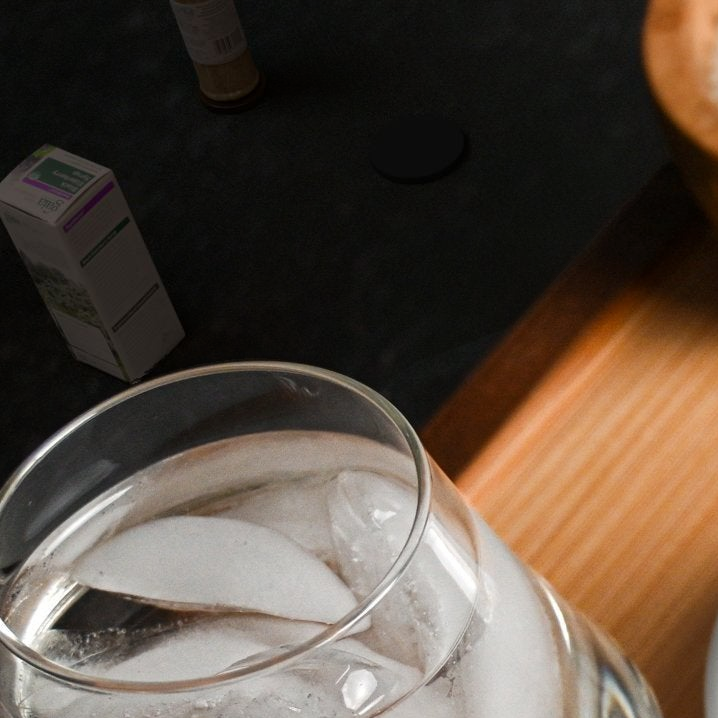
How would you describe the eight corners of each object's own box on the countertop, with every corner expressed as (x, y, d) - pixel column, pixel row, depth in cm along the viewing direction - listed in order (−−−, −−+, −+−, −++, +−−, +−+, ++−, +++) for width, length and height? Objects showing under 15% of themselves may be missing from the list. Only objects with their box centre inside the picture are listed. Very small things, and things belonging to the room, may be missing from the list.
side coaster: (389, 196, 139) (387, 189, 139) (357, 140, 143) (355, 133, 142) (479, 164, 141) (478, 157, 140) (446, 109, 144) (444, 102, 143)
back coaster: (211, 122, 144) (208, 115, 144) (191, 83, 147) (188, 76, 147) (277, 100, 145) (274, 93, 145) (256, 61, 148) (254, 54, 148)
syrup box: (189, 335, 132) (116, 163, 120) (133, 391, 130) (52, 221, 118) (126, 308, 134) (48, 136, 122) (69, 362, 132) (-17, 192, 119)
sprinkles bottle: (248, 58, 147) (193, -106, 136) (269, 91, 145) (215, -73, 134) (191, 79, 146) (131, -84, 135) (212, 112, 144) (153, -51, 133)
